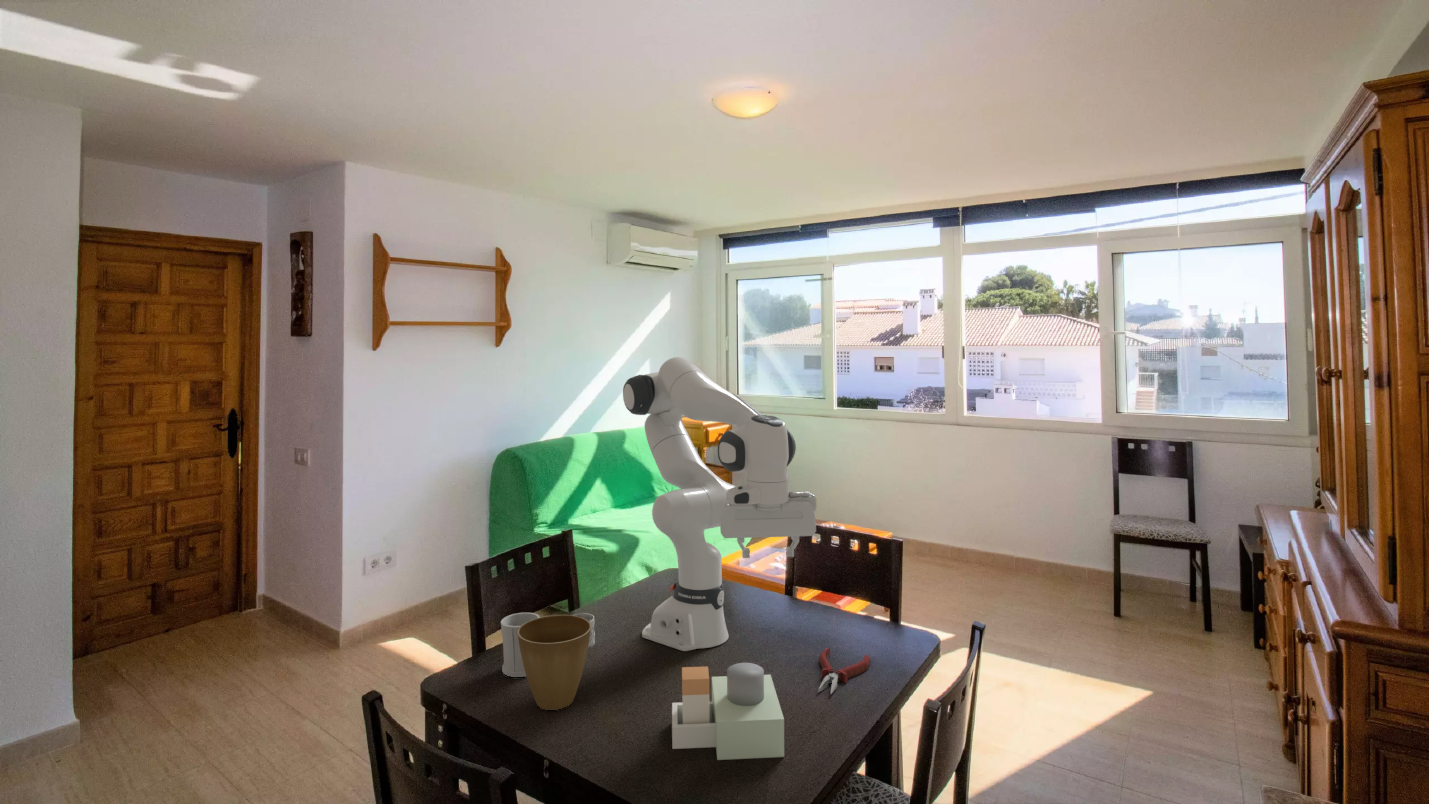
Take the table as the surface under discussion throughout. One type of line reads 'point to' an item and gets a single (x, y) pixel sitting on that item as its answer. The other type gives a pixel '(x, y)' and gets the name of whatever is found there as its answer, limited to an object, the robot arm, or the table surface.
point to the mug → (592, 633)
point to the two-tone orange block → (695, 695)
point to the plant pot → (554, 657)
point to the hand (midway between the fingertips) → (768, 556)
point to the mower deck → (736, 717)
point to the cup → (513, 643)
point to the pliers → (839, 671)
